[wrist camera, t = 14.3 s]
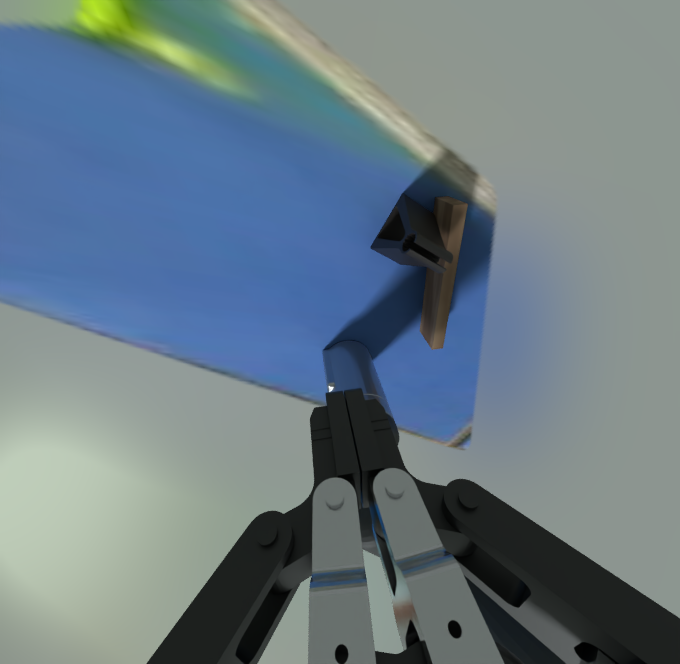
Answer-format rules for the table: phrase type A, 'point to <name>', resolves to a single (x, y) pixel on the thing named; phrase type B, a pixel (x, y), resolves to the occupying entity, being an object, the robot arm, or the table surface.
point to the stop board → (441, 285)
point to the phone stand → (412, 237)
